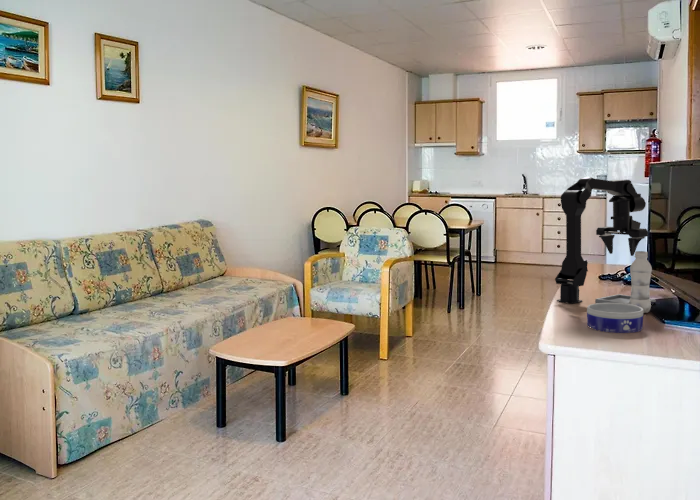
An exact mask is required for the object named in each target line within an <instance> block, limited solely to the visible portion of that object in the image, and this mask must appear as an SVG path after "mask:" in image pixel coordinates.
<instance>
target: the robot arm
mask: <svg viewBox="0 0 700 500" xmlns="http://www.w3.org/2000/svg"><path fill="white" fill-rule="evenodd" d="M592 190H593V191H594V190H595V191H602V192H607V194H610V195H611V196H612V197H611V198H610V199H609V200H608V202H609V203H612V216H610V220H612V226H600V227H597V228H596V229H595V235H596V236H598V238H601V241H602V242H603V244H604V245H605V247H606V249H607V251H608V253H609V254H610V255H612V254H613V251H614V238H615V236H616V235H625V236H629V237H628V238H627V240H628V241H627V242H628V246H629V247H628V248H629V253H630V256H632V257H634V256H635V252H636V250H637V247H638V246H639V244H640V241H642V240H643V239H645V238H647V237H649V231H648V229H647V228H642V227H641V225H642V224H641V223H642V222H639V221H637V220H634V219H633V215H630V213H637V212H642V211H643V210H644V209H645V208H646V205H647V204H646V203H647V202H646V201H645V198H644V197H642V196H641V195H642V194H641V193H638V192H637V191H636V188H635V186H634V184H633V183H632V180H630V179H612V180H607V179H601V178H593V177H581V178H579V179H578V180H577V182H575V183H573V184H572V185H571V186H569V187H568V188H567V189H566V190H565V191H564V192H563V193H562V194H561V195H560V204H561V205H560V207H561V209H562V211H563V213H564V215H565V218H566V219H565V221H566V222H565V224H566V225H565V232H566V235H565V236H566V237H565V239H566V241H565V242H566V243H565V244H566V245H565V246H566V247H565V249H566V252H565V253H566V255H565V257H564V259H563V260H562V262H561V269H560V271H559V272H558V273H557V275H556V276H555V278H554V281H555V284H556V285H560V288H559V289H560V294H559V297H560V298H559V299H556V302H560V303H565V304H569V305H570V304H572V305H573V304H576V303H577V304H578V303H581V302H583V299H580V287H583V286H584V284H585V283H586V282H585V281H586V277H587V273H588V272H589V270H588V260H587V259H584V258H583V257H582V215H583V213H584V211H585V210H586V208H587V201H588V200H589V199H590V198H591V196H592V192H593V191H592ZM640 227H641V228H640Z"/></svg>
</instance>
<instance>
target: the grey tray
mask: <svg viewBox="0 0 700 500" xmlns="http://www.w3.org/2000/svg"><path fill="white" fill-rule="evenodd" d="M630 298H631V295H629V294H628V295H627V294H621V293H618V294H614V295H608V296H602V297H598V298H595V299H594V300H595V303H594V304H596V303H623V304H629V301H630ZM650 302H657V300H656V299H654V298H650Z"/></svg>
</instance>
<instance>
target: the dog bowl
mask: <svg viewBox="0 0 700 500" xmlns="http://www.w3.org/2000/svg"><path fill="white" fill-rule="evenodd" d="M586 323H587V325H588V326H589V327H591V328H593V329H592V330H594V329H596V330H595V331H598V330H600V331H599V332H603V331H604V332H605V333H612V334H615V333H616V334H630V333H632V334H633V333H637V332H641V331H642V330H643V326H644V324H643V323H644V313H643V308H641V307H639V306H636V305H631V304H623V303H591V304H588V305H587V306H586ZM588 326H587V327H588ZM589 327H588V328H589ZM591 328H590V329H591Z"/></svg>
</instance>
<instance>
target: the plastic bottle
mask: <svg viewBox="0 0 700 500" xmlns="http://www.w3.org/2000/svg"><path fill="white" fill-rule="evenodd" d="M648 258H649V257H648V251H644V250H643V251H642V250H641V251H638V250H637V251H635V253H634V260H633V261H632V263H631V265H630V267H629V270H630V278H631V279H630V280H631V282H630V283H631V290H630V296H631V298H630V301H629V304H631V305H636V306H639V307H641V308H643V314H646V313H647V314H648V313H649V312H650V311H651V307H652V305H651V302H650V299H651V297H650V294H651V293H650V283H651V278H652V277H651V276H652V272H653V268H652V265H651V263H650V262H649V260H648Z"/></svg>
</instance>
